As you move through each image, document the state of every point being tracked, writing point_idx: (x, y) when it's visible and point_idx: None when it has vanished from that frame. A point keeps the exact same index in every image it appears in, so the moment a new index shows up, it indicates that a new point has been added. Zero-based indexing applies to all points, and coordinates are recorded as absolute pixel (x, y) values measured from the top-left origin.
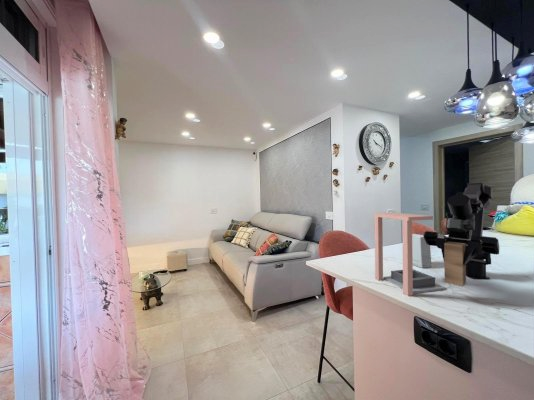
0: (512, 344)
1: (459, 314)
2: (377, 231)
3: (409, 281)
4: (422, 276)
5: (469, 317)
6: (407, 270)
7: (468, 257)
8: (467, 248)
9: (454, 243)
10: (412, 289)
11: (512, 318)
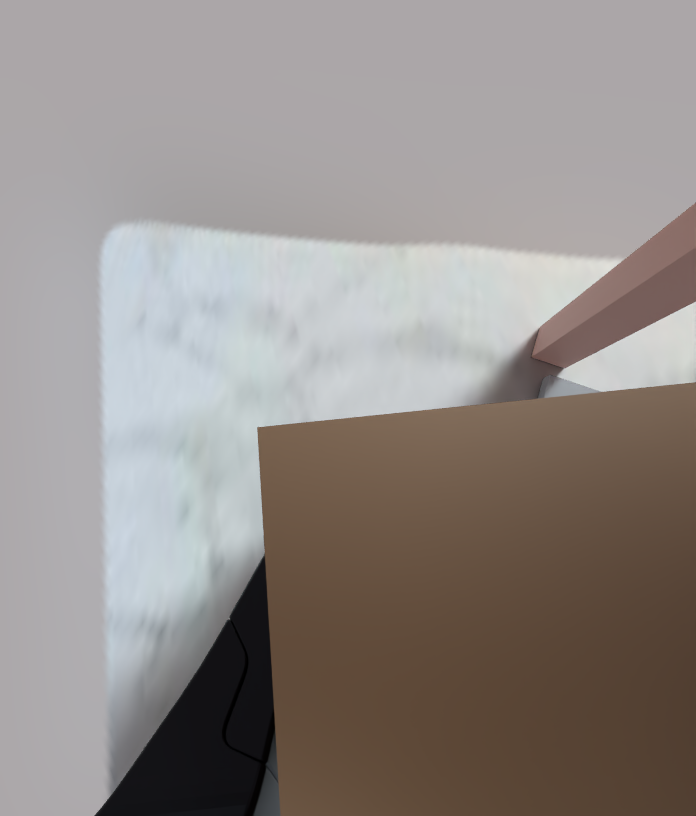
0: (138, 245)
1: (312, 330)
2: None
3: (587, 297)
4: None
5: (278, 336)
6: (657, 234)
7: (259, 577)
8: (249, 769)
9: (580, 678)
10: (549, 342)
11: (156, 489)
